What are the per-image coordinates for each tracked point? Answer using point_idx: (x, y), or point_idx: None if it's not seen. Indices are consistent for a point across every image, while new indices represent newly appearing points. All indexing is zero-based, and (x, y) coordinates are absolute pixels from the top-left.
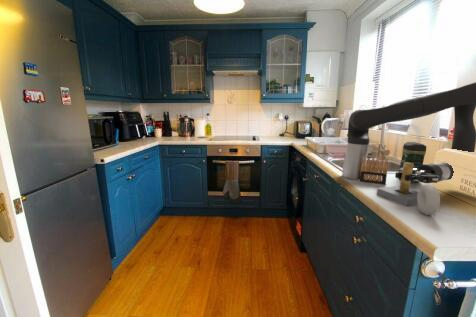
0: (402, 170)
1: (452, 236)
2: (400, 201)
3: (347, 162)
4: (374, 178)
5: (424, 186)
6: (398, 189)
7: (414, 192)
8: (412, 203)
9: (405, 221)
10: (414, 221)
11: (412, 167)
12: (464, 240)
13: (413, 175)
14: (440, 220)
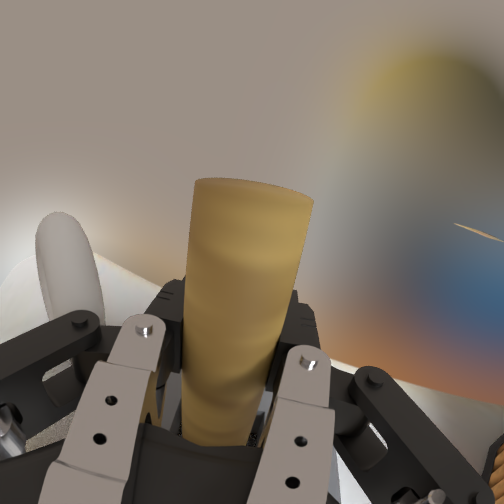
0: (355, 389)
1: (36, 269)
2: None
3: None
4: (496, 485)
5: (80, 225)
6: None
7: None
8: None
9: (120, 273)
10: (101, 282)
11: (191, 228)
12: (20, 268)
13: (161, 318)
14: (38, 322)
